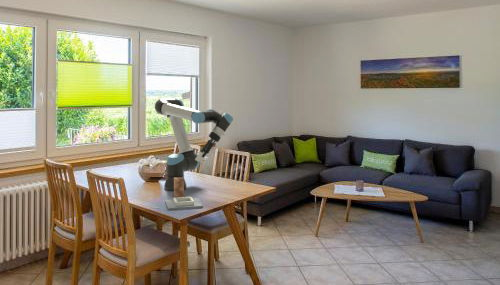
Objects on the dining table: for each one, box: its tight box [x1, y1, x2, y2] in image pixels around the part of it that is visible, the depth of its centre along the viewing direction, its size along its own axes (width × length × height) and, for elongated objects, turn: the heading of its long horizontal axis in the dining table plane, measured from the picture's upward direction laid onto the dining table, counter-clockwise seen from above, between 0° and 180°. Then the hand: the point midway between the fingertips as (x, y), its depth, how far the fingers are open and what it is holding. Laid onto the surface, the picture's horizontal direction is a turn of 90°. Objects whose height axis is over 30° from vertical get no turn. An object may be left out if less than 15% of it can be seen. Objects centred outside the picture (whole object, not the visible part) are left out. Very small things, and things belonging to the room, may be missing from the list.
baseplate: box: [164, 196, 204, 211], centre depth 239 cm, size 20×18×3 cm
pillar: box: [173, 177, 185, 198], centre depth 257 cm, size 6×6×12 cm
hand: (197, 161), depth 261 cm, fingers open, 13 cm apart
